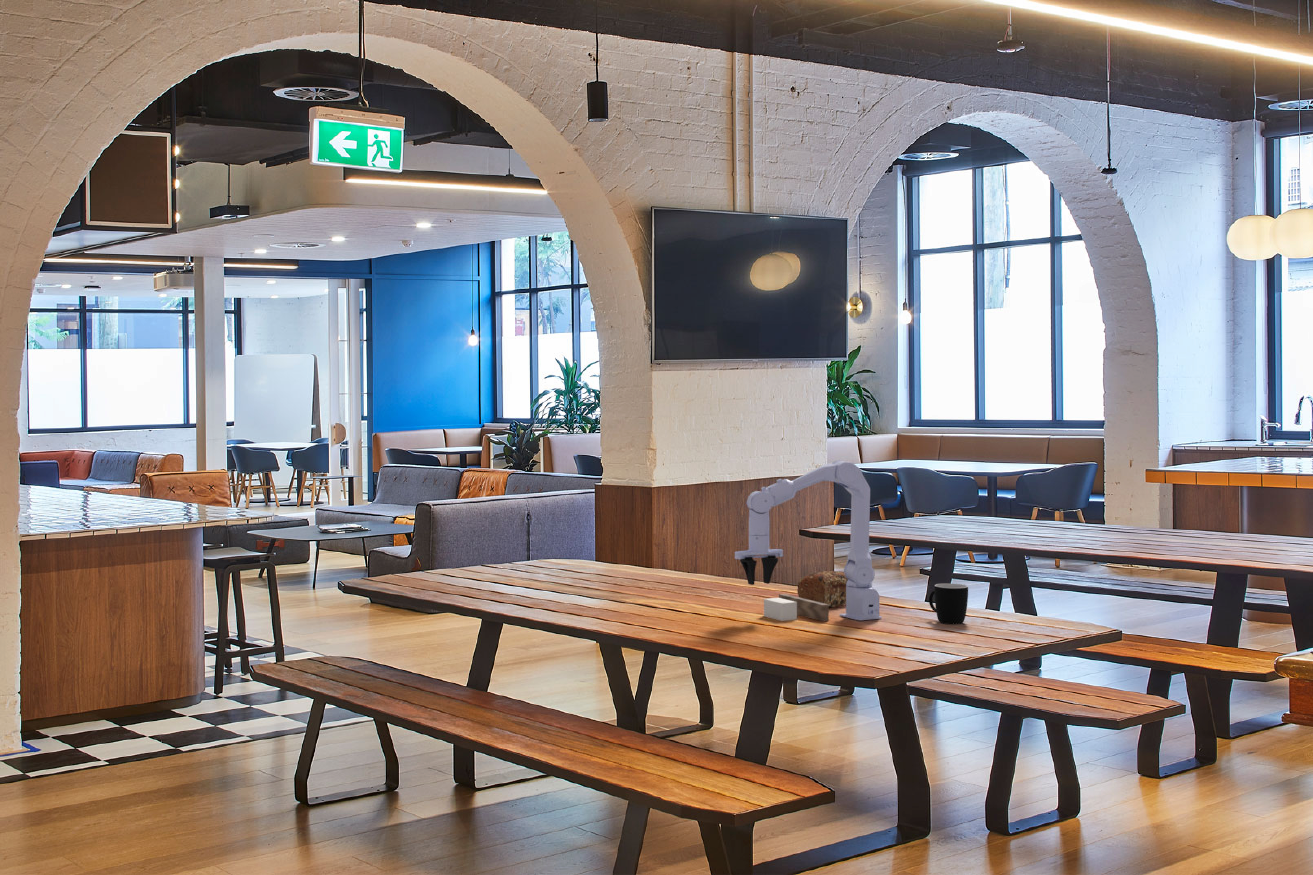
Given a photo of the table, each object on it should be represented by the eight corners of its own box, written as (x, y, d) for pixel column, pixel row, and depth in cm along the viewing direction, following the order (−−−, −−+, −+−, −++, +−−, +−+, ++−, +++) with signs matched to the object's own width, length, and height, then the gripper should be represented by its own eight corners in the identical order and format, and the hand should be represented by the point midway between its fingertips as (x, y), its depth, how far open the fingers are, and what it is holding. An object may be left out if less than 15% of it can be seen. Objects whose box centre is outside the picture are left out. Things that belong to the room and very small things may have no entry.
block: (796, 620, 355) (796, 602, 355) (781, 621, 352) (781, 603, 352) (778, 615, 363) (778, 597, 363) (763, 616, 360) (763, 598, 360)
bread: (825, 610, 372) (825, 575, 371) (795, 606, 379) (795, 572, 379) (861, 602, 385) (861, 569, 385) (831, 599, 393) (831, 566, 392)
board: (828, 620, 352) (828, 604, 352) (822, 621, 351) (822, 604, 351) (784, 609, 372) (784, 593, 372) (778, 609, 371) (778, 594, 371)
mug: (974, 623, 349) (975, 586, 349) (953, 626, 343) (953, 589, 343) (940, 617, 358) (940, 581, 358) (918, 620, 353) (919, 583, 353)
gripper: (773, 532, 361) (773, 580, 361) (729, 534, 354) (728, 583, 354) (787, 534, 354) (787, 583, 355) (742, 537, 348) (742, 586, 348)
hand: (758, 583), depth 354 cm, fingers open, 4 cm apart
